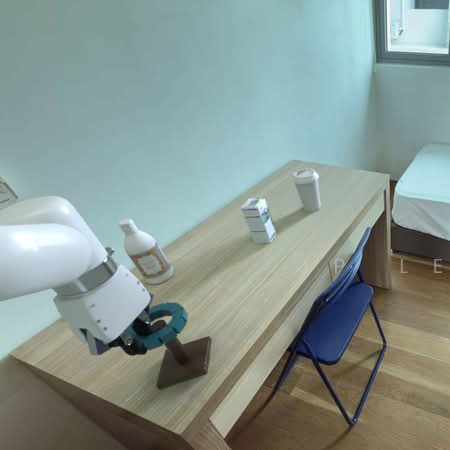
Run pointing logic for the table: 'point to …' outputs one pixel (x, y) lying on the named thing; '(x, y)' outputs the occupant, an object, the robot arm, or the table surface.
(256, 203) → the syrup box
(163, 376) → the stand
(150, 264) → the bath foam
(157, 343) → the ring
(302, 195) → the coffee cup
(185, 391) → the table surface
